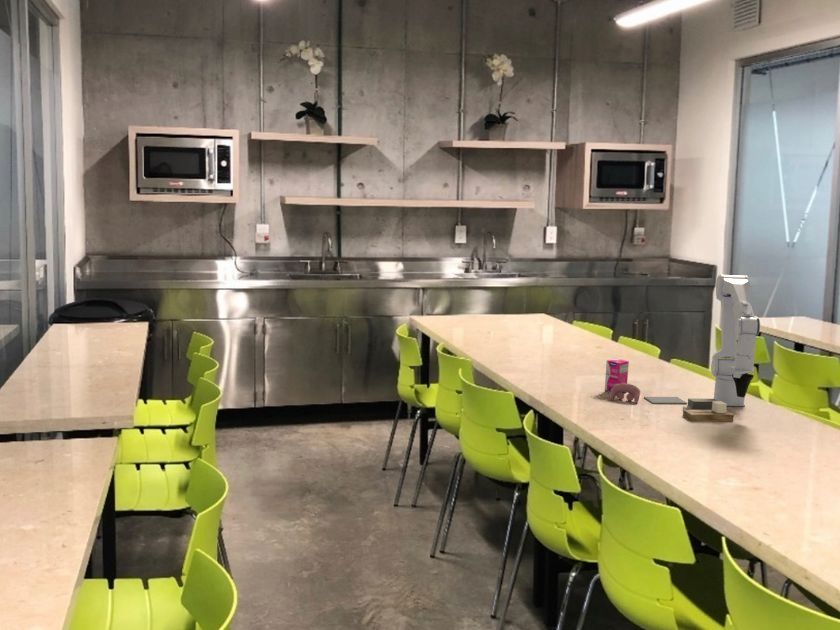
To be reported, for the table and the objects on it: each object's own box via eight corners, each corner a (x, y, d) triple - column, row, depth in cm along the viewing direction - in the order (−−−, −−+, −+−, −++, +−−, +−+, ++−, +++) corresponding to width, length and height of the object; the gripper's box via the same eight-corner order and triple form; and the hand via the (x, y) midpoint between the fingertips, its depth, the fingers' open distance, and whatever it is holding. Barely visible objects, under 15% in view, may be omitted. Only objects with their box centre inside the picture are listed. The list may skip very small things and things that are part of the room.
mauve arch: (639, 406, 287) (642, 386, 289) (637, 403, 283) (640, 383, 285) (610, 402, 291) (613, 383, 293) (608, 399, 287) (611, 379, 289)
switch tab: (720, 410, 270) (721, 401, 270) (726, 413, 267) (726, 403, 266) (711, 410, 270) (712, 401, 270) (716, 413, 267) (717, 403, 266)
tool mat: (676, 398, 294) (677, 396, 294) (686, 404, 286) (686, 402, 286) (643, 398, 293) (644, 396, 293) (652, 403, 285) (652, 402, 285)
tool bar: (713, 408, 281) (713, 398, 281) (718, 412, 277) (719, 401, 277) (681, 408, 280) (682, 398, 279) (686, 411, 276) (687, 401, 275)
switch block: (724, 415, 272) (724, 409, 272) (733, 420, 266) (733, 414, 266) (682, 415, 271) (683, 409, 270) (690, 420, 265) (691, 414, 264)
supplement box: (603, 391, 301) (606, 359, 299) (613, 389, 305) (615, 358, 303) (617, 394, 297) (619, 362, 295) (627, 392, 300) (629, 360, 299)
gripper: (738, 350, 275) (735, 390, 277) (724, 355, 263) (721, 398, 265) (761, 353, 271) (757, 394, 273) (748, 359, 259) (744, 402, 261)
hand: (741, 396), depth 269 cm, fingers closed
